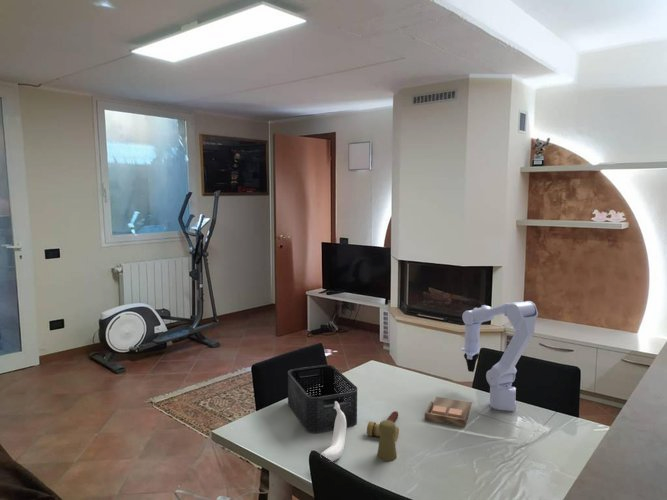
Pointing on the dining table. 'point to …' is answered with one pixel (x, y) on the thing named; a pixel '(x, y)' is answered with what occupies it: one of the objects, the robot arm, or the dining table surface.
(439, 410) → the tile outer
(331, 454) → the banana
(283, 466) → the dining table surface
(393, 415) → the gavel
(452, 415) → the tile inner
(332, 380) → the storage bin
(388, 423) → the cork
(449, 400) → the wooden tray
